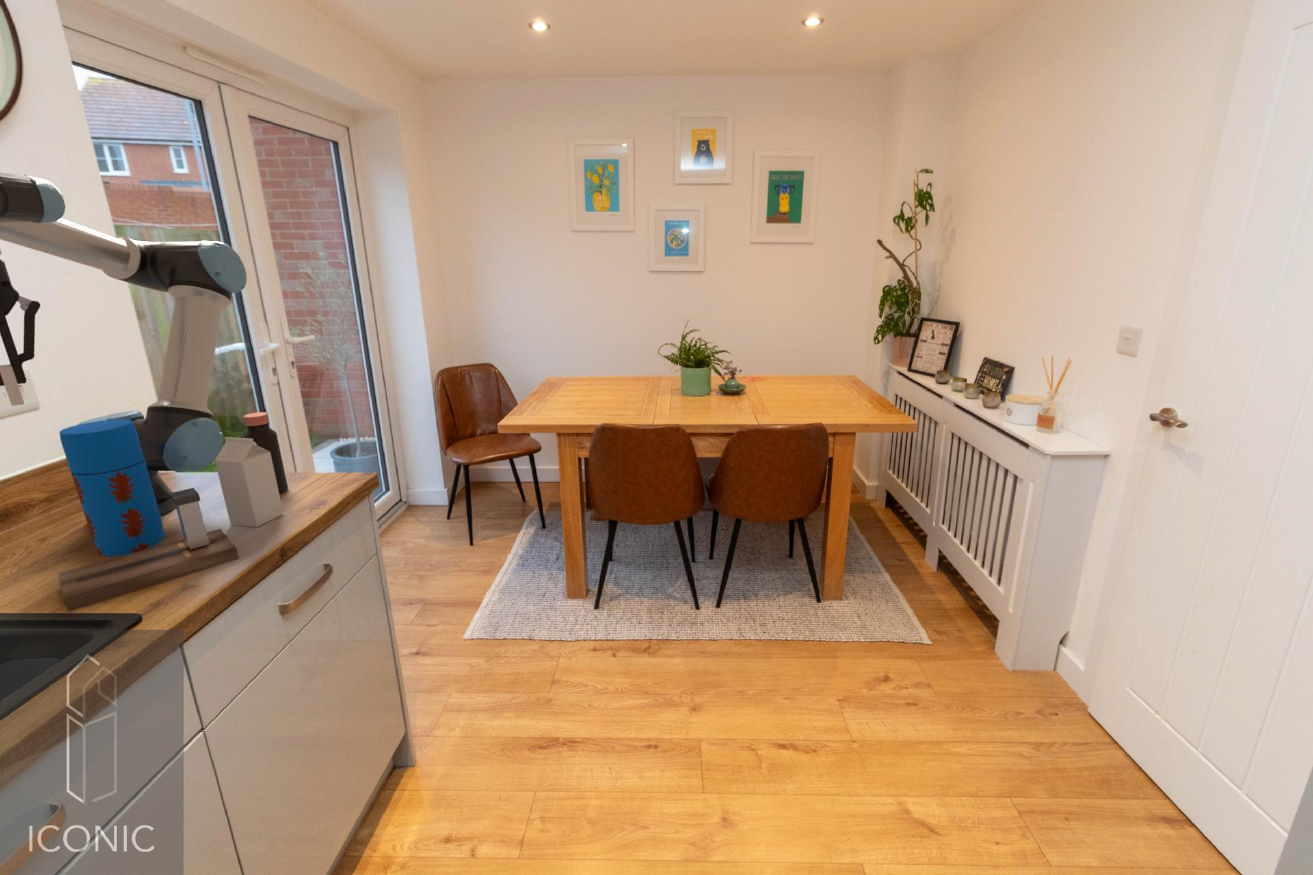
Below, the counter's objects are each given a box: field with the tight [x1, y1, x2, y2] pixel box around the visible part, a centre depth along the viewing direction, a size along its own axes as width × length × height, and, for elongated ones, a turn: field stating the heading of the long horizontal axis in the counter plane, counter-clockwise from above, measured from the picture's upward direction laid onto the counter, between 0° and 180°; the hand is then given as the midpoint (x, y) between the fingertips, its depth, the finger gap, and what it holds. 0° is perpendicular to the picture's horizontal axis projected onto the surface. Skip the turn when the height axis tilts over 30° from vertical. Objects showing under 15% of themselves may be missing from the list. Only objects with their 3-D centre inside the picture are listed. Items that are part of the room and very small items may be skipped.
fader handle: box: [170, 487, 209, 549], centre depth 112 cm, size 5×4×10 cm
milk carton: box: [214, 436, 284, 528], centre depth 128 cm, size 7×7×19 cm
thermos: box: [59, 419, 166, 557], centre depth 117 cm, size 11×11×25 cm
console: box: [57, 528, 240, 612], centre depth 109 cm, size 12×24×3 cm, turn 137°
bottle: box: [242, 411, 289, 495], centre depth 144 cm, size 7×7×20 cm
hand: (17, 403), depth 99 cm, fingers closed
